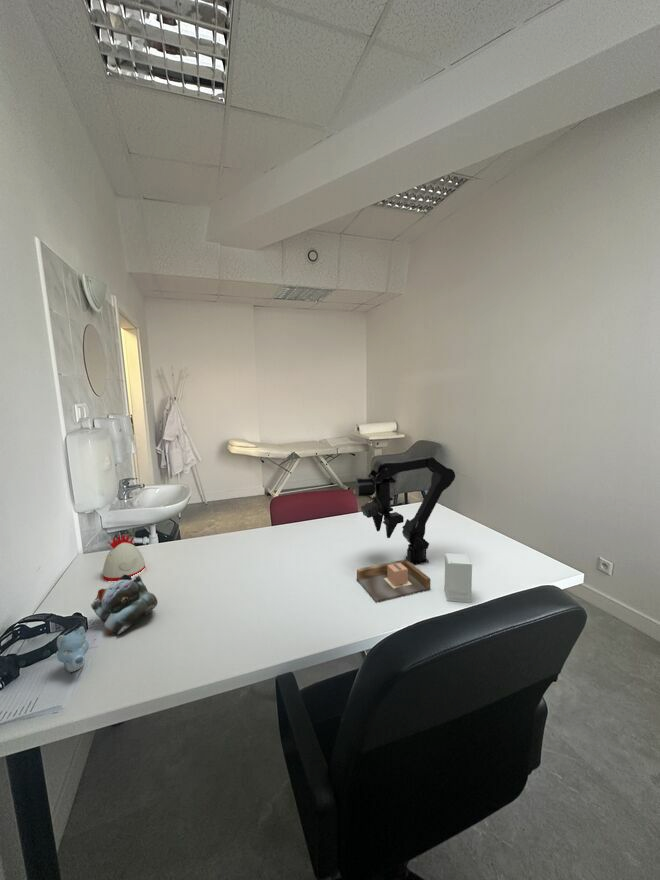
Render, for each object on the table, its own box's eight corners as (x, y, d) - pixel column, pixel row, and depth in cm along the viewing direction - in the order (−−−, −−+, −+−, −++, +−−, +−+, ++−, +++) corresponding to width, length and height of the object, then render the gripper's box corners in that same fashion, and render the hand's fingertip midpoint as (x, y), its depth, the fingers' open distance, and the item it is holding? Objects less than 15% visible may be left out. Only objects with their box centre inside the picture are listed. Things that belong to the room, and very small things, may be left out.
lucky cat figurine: (105, 643, 96) (82, 597, 97) (108, 636, 106) (87, 594, 107) (161, 608, 104) (140, 565, 105) (159, 605, 114) (140, 565, 115)
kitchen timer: (98, 573, 135) (94, 535, 133) (137, 560, 145) (134, 525, 143) (110, 586, 126) (105, 545, 124) (151, 571, 136) (147, 533, 134)
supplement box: (471, 603, 111) (472, 564, 109) (446, 601, 112) (447, 562, 111) (467, 590, 118) (468, 554, 116) (444, 588, 119) (444, 552, 118)
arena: (406, 569, 133) (406, 559, 132) (430, 589, 119) (430, 578, 118) (356, 580, 126) (356, 569, 126) (376, 602, 112) (376, 590, 112)
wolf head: (66, 688, 81) (61, 648, 80) (56, 669, 87) (52, 631, 86) (97, 672, 86) (93, 634, 85) (86, 655, 92) (82, 619, 90)
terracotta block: (387, 578, 124) (387, 565, 124) (400, 576, 126) (400, 562, 125) (394, 585, 120) (394, 571, 119) (407, 582, 121) (407, 568, 121)
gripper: (352, 491, 139) (353, 529, 141) (377, 504, 122) (377, 547, 124) (377, 487, 143) (377, 525, 145) (404, 499, 126) (404, 541, 128)
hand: (383, 534), depth 136 cm, fingers open, 7 cm apart
